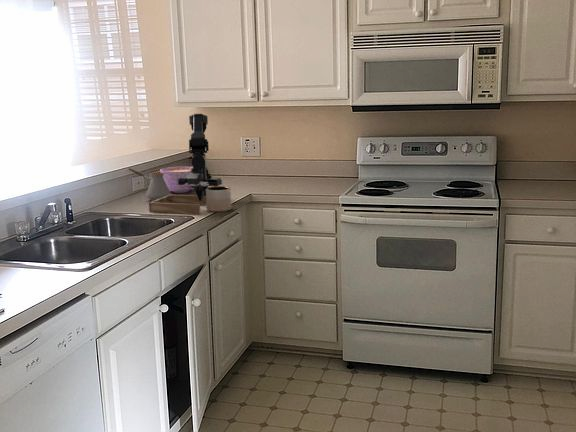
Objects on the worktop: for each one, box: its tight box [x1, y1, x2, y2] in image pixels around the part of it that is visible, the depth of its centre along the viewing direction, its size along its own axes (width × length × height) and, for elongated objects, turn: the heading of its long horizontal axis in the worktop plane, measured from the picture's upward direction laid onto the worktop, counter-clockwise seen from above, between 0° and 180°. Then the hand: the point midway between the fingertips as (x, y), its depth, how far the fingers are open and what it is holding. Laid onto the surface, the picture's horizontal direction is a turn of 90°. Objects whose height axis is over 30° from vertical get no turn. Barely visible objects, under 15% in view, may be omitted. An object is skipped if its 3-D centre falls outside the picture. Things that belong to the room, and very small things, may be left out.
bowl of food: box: [159, 166, 194, 194], centre depth 324 cm, size 20×20×12 cm
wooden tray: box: [148, 194, 206, 215], centre depth 281 cm, size 20×24×4 cm
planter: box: [205, 185, 232, 213], centre depth 276 cm, size 11×11×10 cm
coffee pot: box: [126, 167, 172, 202], centre depth 302 cm, size 21×12×15 cm, turn 74°
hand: (200, 200), depth 278 cm, fingers closed
